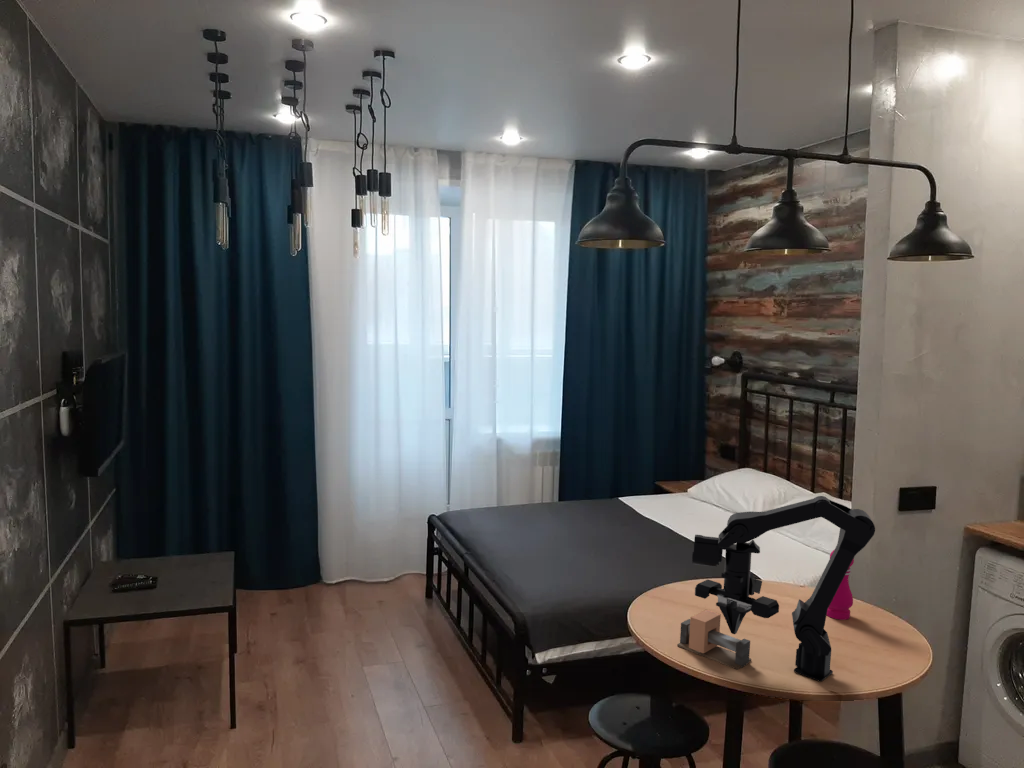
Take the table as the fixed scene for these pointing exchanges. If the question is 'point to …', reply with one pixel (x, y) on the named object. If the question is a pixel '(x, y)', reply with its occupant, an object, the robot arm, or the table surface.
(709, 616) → the collar
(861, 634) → the table surface
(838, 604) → the pepper mill
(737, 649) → the rail
